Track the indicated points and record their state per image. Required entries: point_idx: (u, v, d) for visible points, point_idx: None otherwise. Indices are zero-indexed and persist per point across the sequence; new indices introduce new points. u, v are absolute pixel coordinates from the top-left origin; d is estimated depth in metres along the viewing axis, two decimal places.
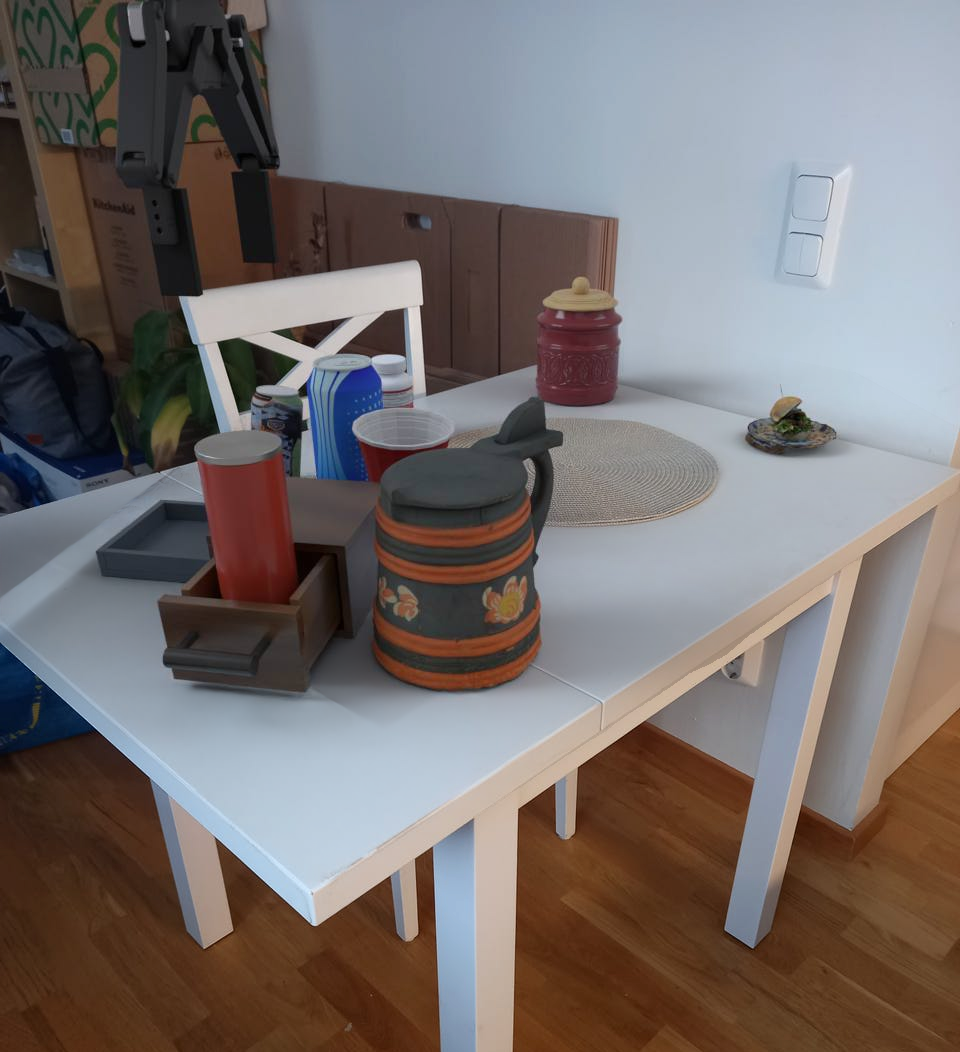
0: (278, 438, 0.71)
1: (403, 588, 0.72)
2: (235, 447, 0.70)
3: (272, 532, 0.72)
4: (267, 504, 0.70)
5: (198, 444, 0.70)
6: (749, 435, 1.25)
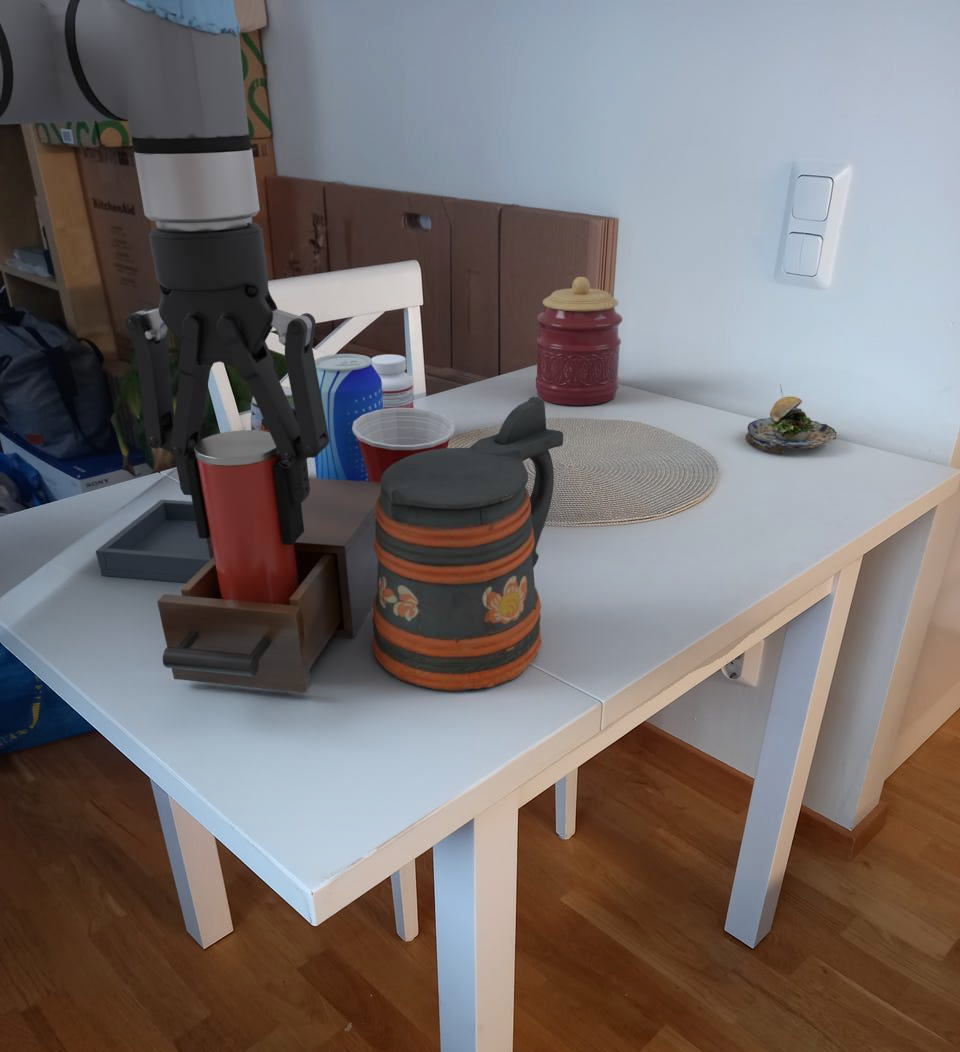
0: None
1: (403, 588, 0.72)
2: (235, 447, 0.70)
3: (272, 532, 0.72)
4: (267, 504, 0.70)
5: (198, 444, 0.70)
6: (749, 435, 1.25)
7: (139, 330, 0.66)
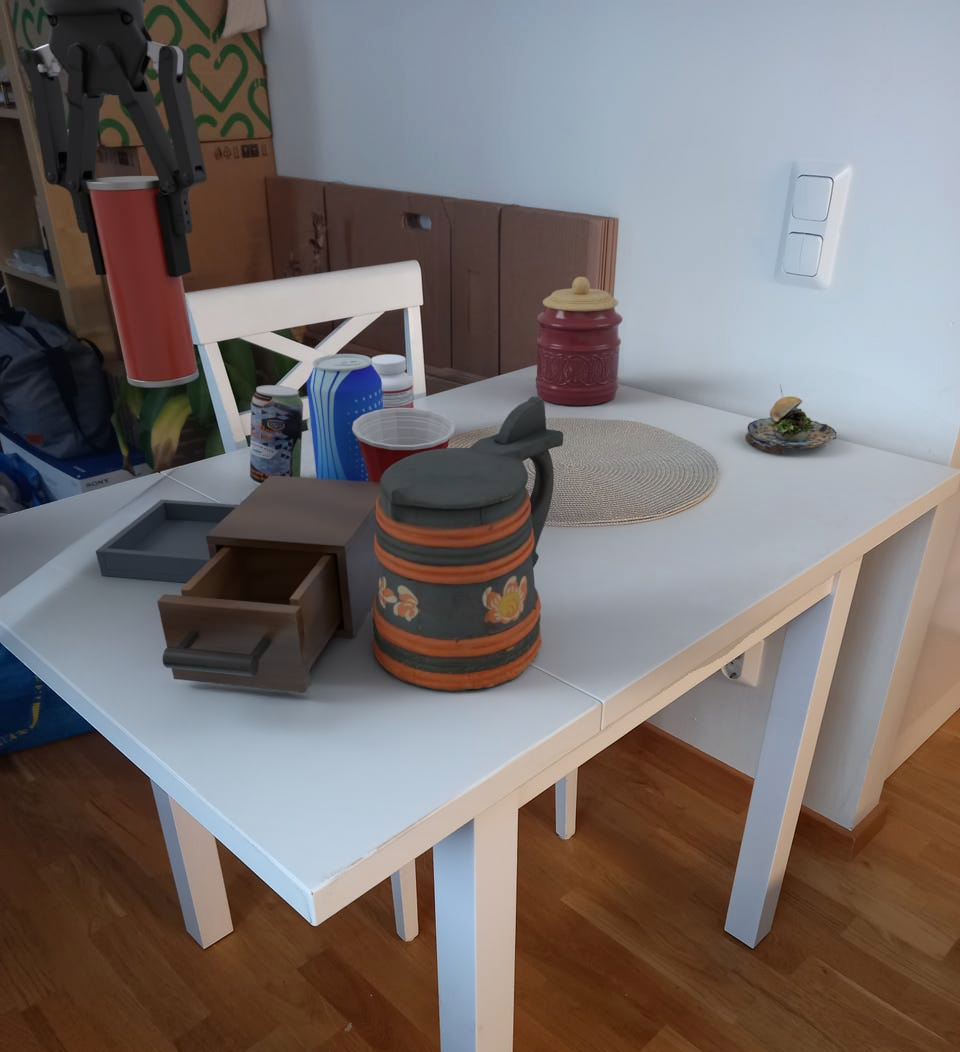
0: None
1: (403, 588, 0.72)
2: (122, 180, 0.78)
3: (158, 262, 0.80)
4: (151, 233, 0.79)
5: (91, 179, 0.79)
6: (749, 435, 1.25)
7: (32, 63, 0.75)
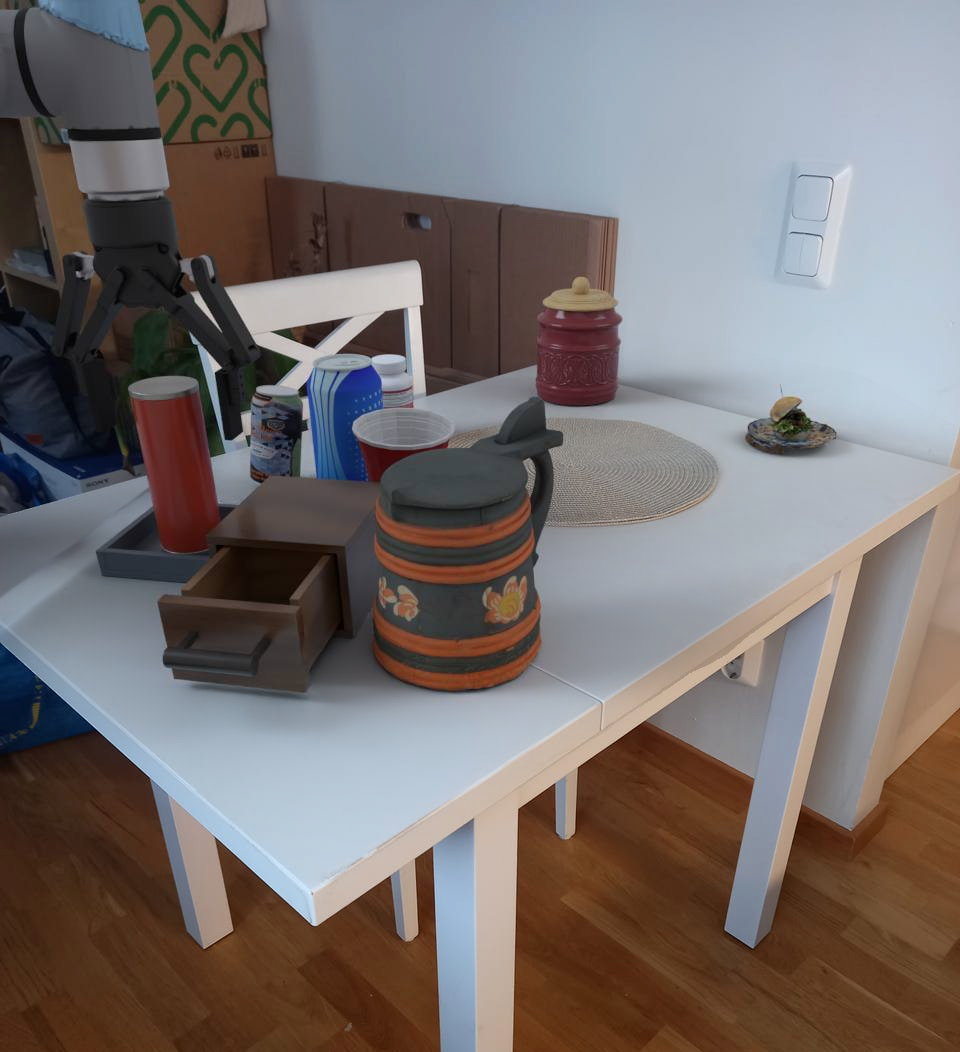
0: (195, 381, 0.90)
1: (403, 588, 0.72)
2: (160, 387, 0.88)
3: (191, 455, 0.90)
4: (186, 433, 0.89)
5: (131, 385, 0.89)
6: (749, 435, 1.25)
7: (72, 268, 0.83)
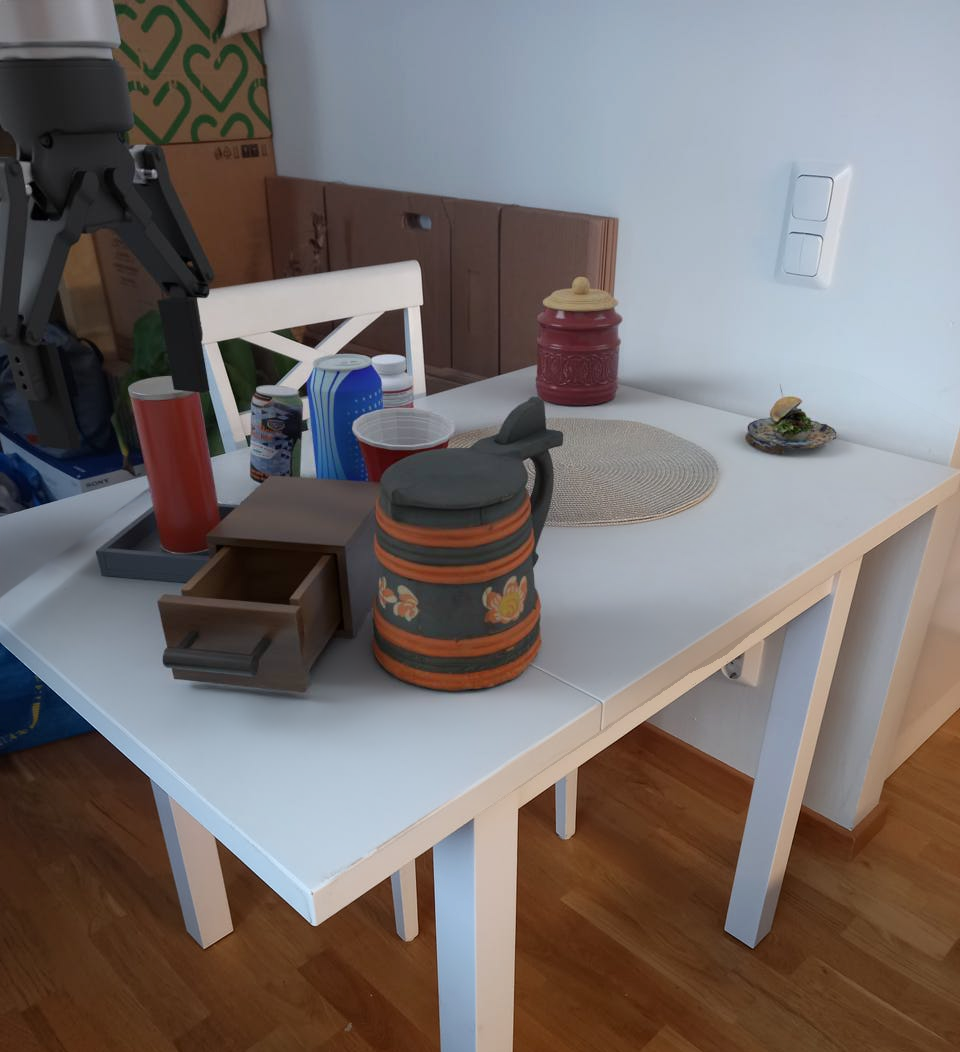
0: None
1: (403, 588, 0.72)
2: (160, 387, 0.88)
3: (191, 455, 0.90)
4: (186, 433, 0.89)
5: (131, 385, 0.89)
6: (749, 435, 1.25)
7: (20, 179, 0.52)
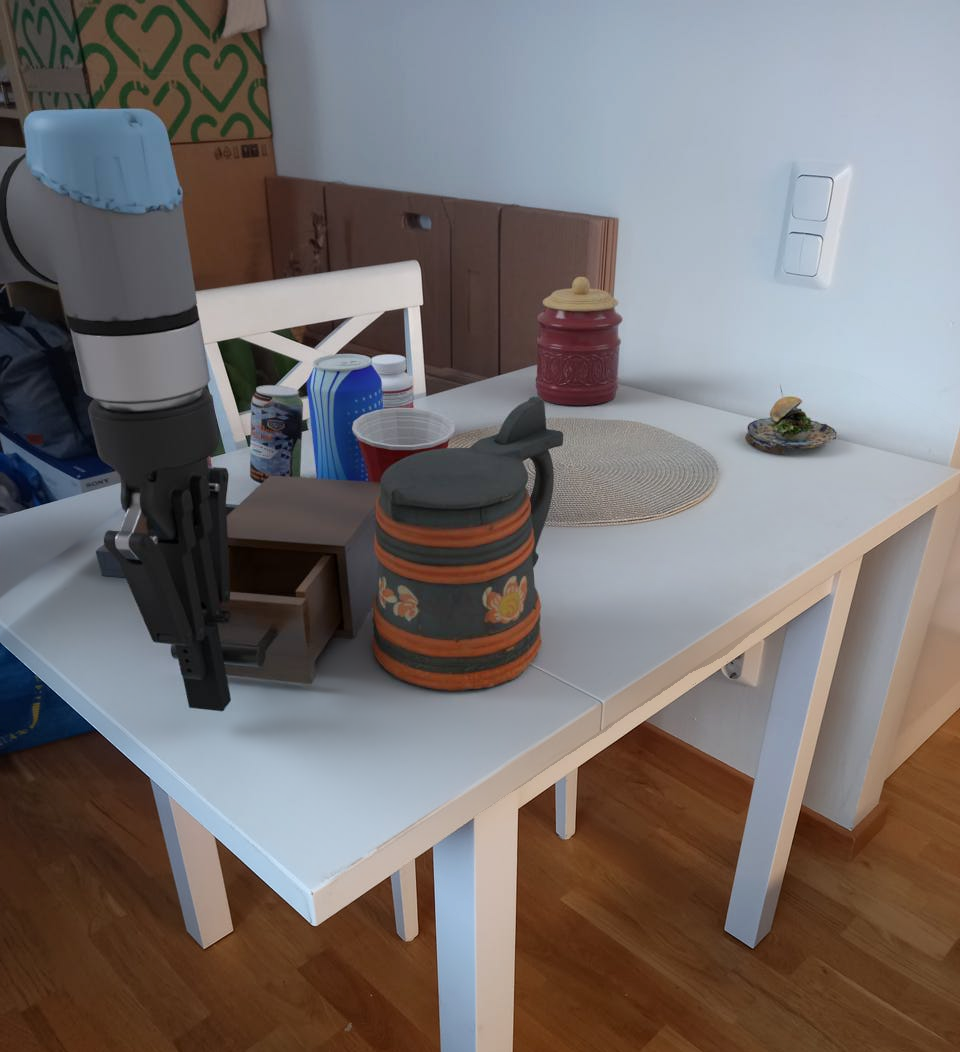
0: None
1: (403, 588, 0.72)
2: None
3: None
4: None
5: None
6: (749, 435, 1.25)
7: (150, 542, 0.57)
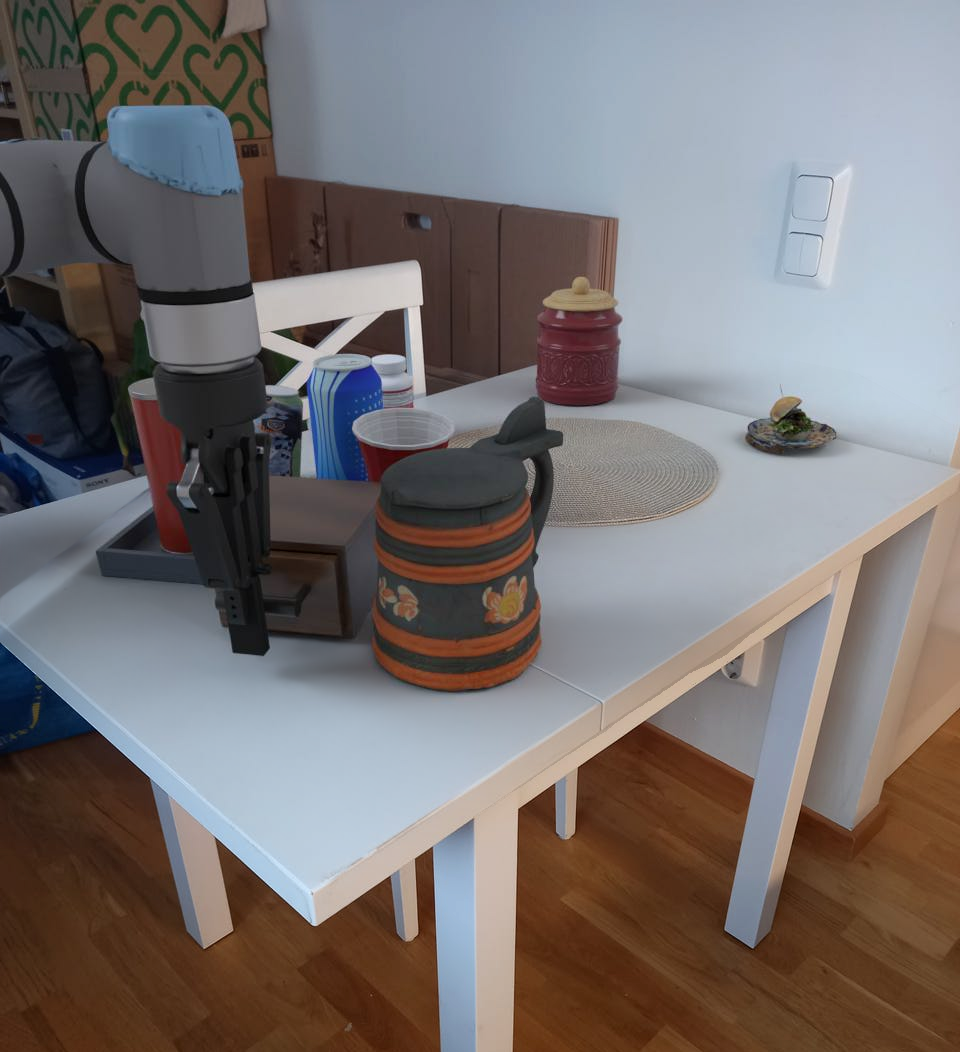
0: None
1: (403, 588, 0.72)
2: None
3: None
4: None
5: (131, 385, 0.89)
6: (749, 435, 1.25)
7: (207, 492, 0.64)
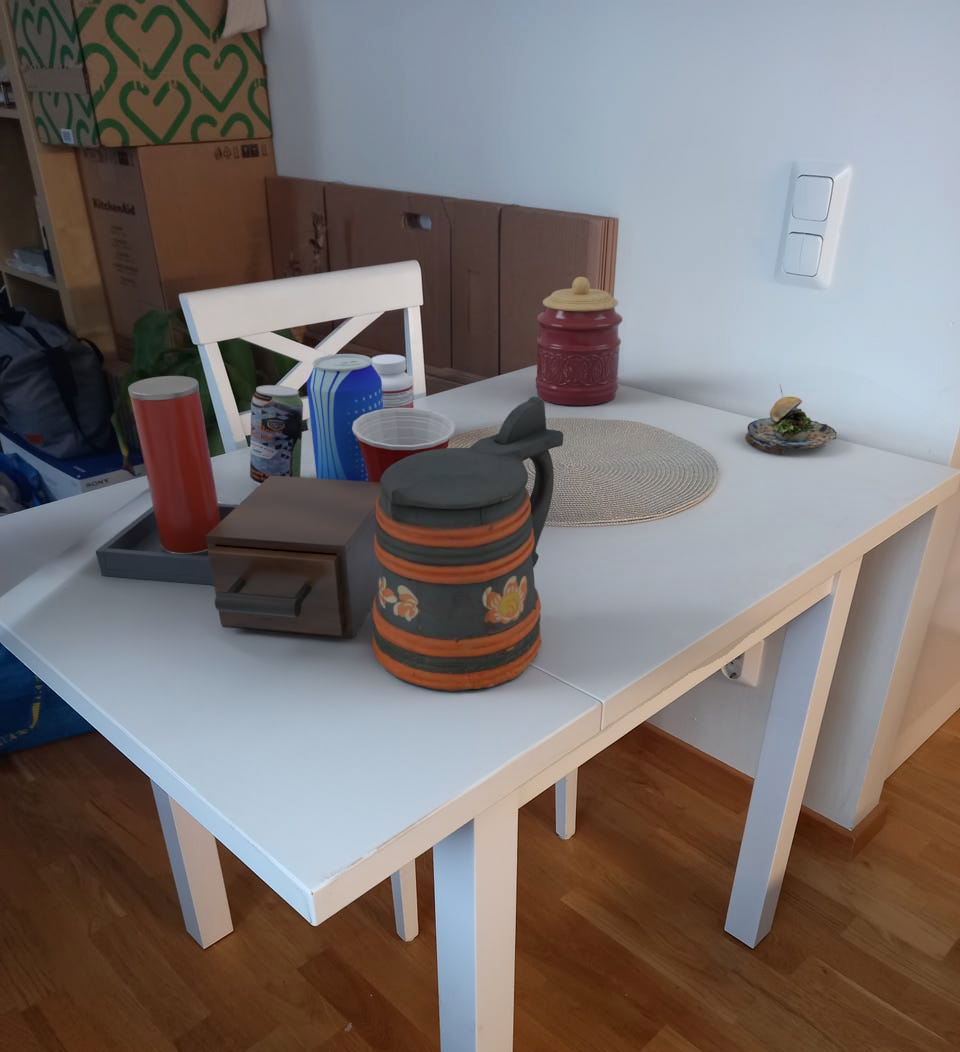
0: (195, 381, 0.90)
1: (403, 588, 0.72)
2: (160, 387, 0.88)
3: (191, 455, 0.90)
4: (186, 433, 0.89)
5: (131, 385, 0.89)
6: (749, 435, 1.25)
7: None
